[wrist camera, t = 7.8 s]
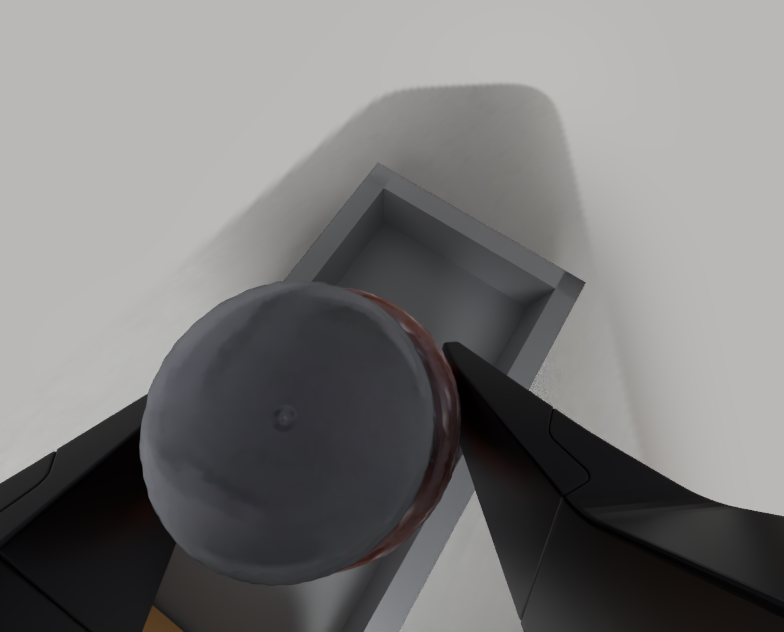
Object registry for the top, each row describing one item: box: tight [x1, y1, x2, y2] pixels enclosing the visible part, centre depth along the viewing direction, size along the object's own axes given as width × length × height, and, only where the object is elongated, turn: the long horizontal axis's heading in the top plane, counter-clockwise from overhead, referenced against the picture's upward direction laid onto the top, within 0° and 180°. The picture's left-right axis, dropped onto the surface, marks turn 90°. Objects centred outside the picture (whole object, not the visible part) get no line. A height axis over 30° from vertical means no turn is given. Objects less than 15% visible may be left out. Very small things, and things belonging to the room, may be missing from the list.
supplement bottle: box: [139, 281, 461, 586], centre depth 10 cm, size 6×6×11 cm
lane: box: [153, 163, 586, 632], centre depth 13 cm, size 26×11×6 cm, turn 147°
